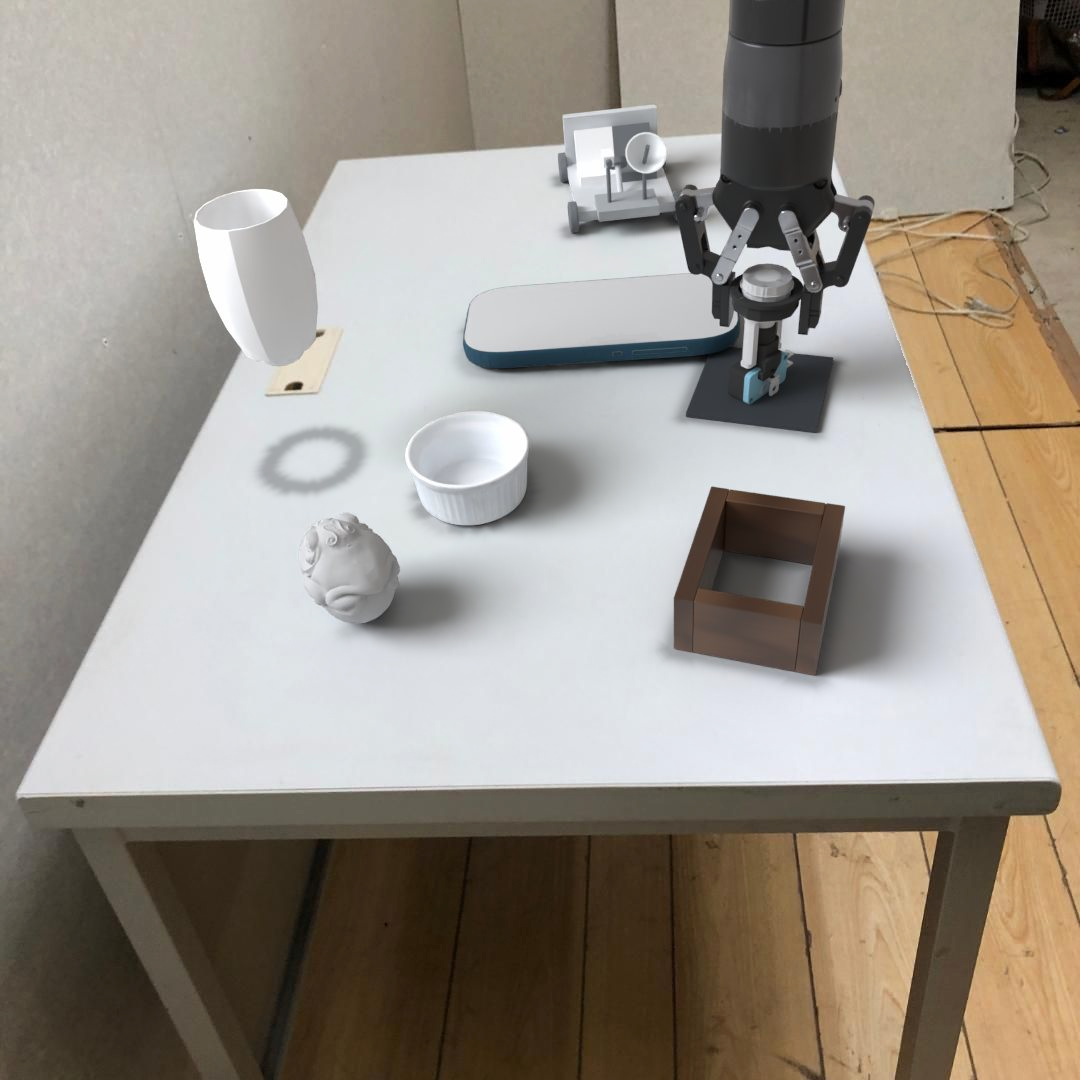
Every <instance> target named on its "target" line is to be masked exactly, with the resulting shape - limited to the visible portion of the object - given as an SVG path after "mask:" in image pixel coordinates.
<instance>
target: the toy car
mask: <svg viewBox="0 0 1080 1080" xmlns="http://www.w3.org/2000/svg"><path fill="white" fill-rule="evenodd" d="M562 127H563V141H564V152H558V153H557V161H558V162H557V163H558V165H557V166H558V175H559V180H560V182H561V183H565V182H568V184H569V189H570V193H571V198H572V201H568V202H567V216H568V226H569V232H570V233H571V234H573V233H579V232H580V222H588V221H596V220H597V221H598V222H599V223H601V222H610V221H618V220H627V219H628V220H629V219H637V218H644V217H645V218H646V217H655V216H660V213H668V212H669V213H670V212H672V213H673V218H674V220H675V222H678V219H677V215H676V210H675V204H676V202H677V200H678V198H679V196H680V194H681V192H682V190H683V189H674V190H673V191H672V188H671V186H670V184H669V181H668V178H667V176H666V173H665V170H666V168H667V158H668V148H667V144H666V143H665V141H664V140H663V139H662V138H661V136H659V135H658V107H657V105H656V104H645V105H639V106H629V107H628V106H627V107H620V108H611V109H602V110H593V111H592V110H591V111H584V112H575V113H566V114H562Z"/></svg>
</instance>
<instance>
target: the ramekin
mask: <svg viewBox="0 0 1080 1080" xmlns="http://www.w3.org/2000/svg"><path fill="white" fill-rule="evenodd" d="M529 453H530V439H529V436H528V433H527V431H526V429H525V428H524V427H523V426H522V425H521V424H520V423H519V422H517V421H516V420H514V419H512V418H511V417H508V416H506V415H503V414H500V413H497V412H492V411H485V410H470V411H469V410H466V411H459V412H455V413H450V414H446V415H444V416H441V417H438V418H436V419H433V420H431V421H430V422H428V423H427V424H424V425H423V426H421V428H419V429H418V430H417V431H416V432H415V433H414V434H413V435H412V437H411V438H410V440H409V441H408V443H407V445H406V448H405V454H404V455H405V457H404V458H405V462H406V465H407V467H408V470H409V472H410V473H411V475H412V478H413V480H414V484H415V487H416V491H417V494H418V497H419V500H420V502H421V504H422V506H423V508H424V509H425V510H426V511H427V512H428V513H429V514H430V515H431V516H432V517H434V518H435V519H437V520H440V522H441V521H442V522H444V523H447V524H451V525H456V526H477V525H483V524H488V523H491V522H494V521H497V520H499V519H501V518H503V517H505V516H507V515H509V514H510V513H511V512H513V511H514V510H515V509H516V508H518V506H519V505H520V504H521V502H523V499H524V498H525V495H526V492H527V488H528V457H529Z"/></svg>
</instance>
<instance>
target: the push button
mask: <svg viewBox="0 0 1080 1080" xmlns="http://www.w3.org/2000/svg"><path fill="white" fill-rule="evenodd" d="M803 286H804V283H802V281H801V280H800V279H799V278H797V277H796V276H794V275H793V273H792V271H791V270H789V269H788V267H785V266H784V265H781V264H775V263H757V264H754V265H752V266H748V268H746V269H745V270H744V271H743V272H742V274H739V275H737V276H735V279H734V280H733V281H732V283H731V285H730V295H731V297H732V306H733V309H734V311H735V312H737V313H738V314H739V316H742V317H743V319H744V325H743V326H744V329H743V340H742V341H743V342H742V343H743V344H742V346H741V348H742V349H741V359H740V361H738V362H737V363H735V364H734V365H732V366H731V367H730V369H729V380H728V394H729V395H731V396H733V397H735V398H737V399H739V400H741V401H743V402H745V403H747V404H749V405H750V404H752V403H753V402H754V401H755V400H757V399H758V398H760V397H761V396H763V395H764V394H766V393H767V392H769V395H770V396H772V395H773V394H775V393H776V392H777V391H778V389H779V384H781V383H782V382H783V381H784V380H785V377H786V370H787V368H788V367H789V366H791V365H792V364H793V362H791V361H789V360H788V358H789V357H791V356H792V355H794V353H795V352H793V351H791V350H789V349H785V350H781V349H782V341H781V340H782V331H783V330H782V329H783V321H784V320H786V319H789V318H791V317H792V316H793V315H794V314H795V312H796V311H797V309H798V308H799V307H800V302H801V295H802V294H801V293H802V289H803ZM787 353H788V354H789V355H788V354H787ZM787 363H788V365H787ZM775 387H776V388H775ZM773 388H775V390H774V391H772V389H773Z"/></svg>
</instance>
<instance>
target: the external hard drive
mask: <svg viewBox="0 0 1080 1080" xmlns="http://www.w3.org/2000/svg"><path fill="white" fill-rule="evenodd" d="M719 322H720V319H714V317H713V315H712V281H711V279H710V278H709V277H707V276H705V275H703V274H699V275H694V274H692V273H690V272H686V273H685V272H684V273H672V274H658V275H657V274H656V275H644V276H632V277H631V276H630V277H618V278H617V277H616V278H605V279H603V278H601V279H590V280H576V281H562V282H561V281H560V282H551V283H550V282H549V283H535V284H523V285H522V284H521V285H511V286H502V287H496V288H492V289H488V290H485V291H483V292H481V293H479V294H477V295H475V296H474V297H473V298H472V300H470V303H469V305H468V308H467V312H466V318H465V323H464V330H463V336H462V347H463V351H464V354H465V357H466V359H467V360H468V361H469V362H470V363H471V364H474V365H475V366H478V367H481V368H482V367H483V368H487V369H512V368H513V369H515V368H528V367H529V368H530V367H531V368H532V367H547V366H558V365H559V366H561V365H573V364H574V365H576V364H591V363H604V362H605V363H606V362H620V361H634V360H648V359H649V360H652V359H662V358H663V359H664V358H665V359H667V358H681V357H694V356H695V357H696V356H705V355H709V354H711V353H716V352H720V351H723V350H725V349H727V348H729V347H733V346H734V344H735V343H736V342H737V341H738V339H739V337H740V333H741V317H740V314H738V313H737V312H735V311H734V314H733V318H732V321H731V323H730V326H729V327H722V326H720V325H719Z"/></svg>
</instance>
